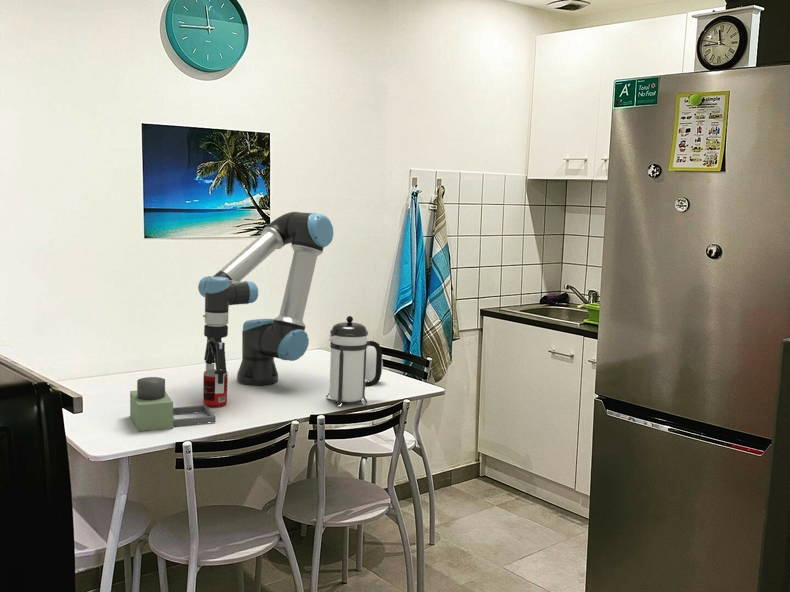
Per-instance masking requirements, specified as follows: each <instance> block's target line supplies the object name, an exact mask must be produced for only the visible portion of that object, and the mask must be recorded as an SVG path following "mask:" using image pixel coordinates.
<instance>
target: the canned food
mask: <svg viewBox="0 0 790 592" xmlns="http://www.w3.org/2000/svg"><path fill="white" fill-rule="evenodd" d="M215 371H216V368H214V369H212V370H207V371H206V370H205V371H204V372H203V388H202V389H203V391H202V392H203V393H202V394H203V399H202V400H203V401H202V402H203V405H207V407H208V408H221V407H225V406H226V405H227V403H228V371H227V372H226V373H225V374H224V393H218V394H215V374H214V373H215Z"/></svg>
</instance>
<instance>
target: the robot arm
mask: <svg viewBox="0 0 790 592" xmlns="http://www.w3.org/2000/svg"><path fill="white" fill-rule="evenodd" d="M333 238H334V227H333V224H332V222H331V219H330V218H329V217H328V216H326V215H324V214H321V213H316V212H302V211H301V212H299V211H291V212H286V213H284V214H282V215H281V216H279V217H277V218H275V219H274V220H273V221H271V222H270V223H268V224H267V225H266V226H265V227H264V228H263V229H262V233H261V234H259V236H258V237H256V238H255V239H254V240H253V241H251V243H250V244H249V245H247V246H246V247H245V248H243V250H241V251H240V253H238V254H236V256H235V257H234V258H232V259H231V260H230V261H229V262H228V263H226V265H225V266H223V267H222V268H221V269H220V270H218V271H217V272H216V273H215V274H214V275H212V276H209V275H208V276H203V277H202V278H201V279H200V280H199V283H198V286H197V287H198V288H197V290H198V292H199V294H200V295H201V296H202V297H204V314H202V317H203V318H204V328H203V335H204V337H206V345H205V352H204V358H203V360H204V362H205V371H207V370H212V369H216V371H215V373H214V374H215V394H218V393H224V374H225V373H226V372H227V373H228V371H227V361H226V350H225V349H226V348H225V347H226V346H225V345H226V343H225V342H223V341H222V338H226V337H228V334H229V326H228V324H229V307H230V306H234V305H235V306H236V305H237V306H238V305H249V304H254V303H255V302H256V301H257V300H258V298H259V288H258V286H257V284H256V283H255V282H254V281H249V280H244V281H242V280H243V279H244V278H245V277H246V276H248V275H249V274H250V273H251V272H252V271H254V270H255V269H256V268H257V267H258V266H259V265H260V264H261V263H262V262H263V261H265V260H266V259H267V258H268V257H269V256H270V255H272V254H273V252H275V251H276V250H281V249H282V248H284V246H286V245H289V244H291V245H290V246H291V248H292V250H293V254H292V255H293V256H292V259H291V260H292V261H291V264H290V267H289V271H288V277H287V281H286V285H285V289H284V294H283V298H282V301H281V306H280V311H279V315H278V316H276V317H275V318H257V319H248V320H246V321H244V322H243V324H242V333H241V335H242V337H241V338H242V339H241V340H242V343H241V344H242V345H241V346H242V348H241V352H242V353H241V354H242V359H241V363H240V365H239V368H238V371H237V373H236V381H237V382H238V383H240V384H243V385H248V386H265V385H266V386H267V384H268V385H272V383H273V384H275V382H276V383H278V381H279V373H278V369H277V367H276V363H275V358H276V359H279V360H282V361H290V362H293V361H297V360H299V359H300V358H301V357H303V356H305V354H306V351H307V350H308V347H309V343H310V342H309V339H310V338H309V335H308V333H307V332H306V331H305V330H306V324H305V323H304V321H303V320H304V315H305V311H306V308H307V304H308V298H309V295H310V290H311V285H312V281H313V277H314V273H315V269H316V263H317V260H318V257H320V255H322V254H323V252H324V248H326V247H328V246H329V245H330V244H331V243H332V241H333Z"/></svg>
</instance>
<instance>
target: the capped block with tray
mask: <svg viewBox="0 0 790 592" xmlns="http://www.w3.org/2000/svg"><path fill="white" fill-rule="evenodd" d="M136 381H137V384H136V390H130V391H129V393H130V394H129V402H130V403H129V405H130V406H129V411H130V412H129V413H130V414H129V415H130V419H131V418H132V419H131V421H132V423H133V425H134V426H135V429H136V432H138V431H141V432H146V431H145V430H151V431H156V430H155V429H162V430H165V429H164V428H172V429H174V427H173V426H176V427H183V426H182V425H187V426H191V425H190V424H197V425H201V424H200V423H208V422H217V421H216V415H215V414H214V413H213V412H212V410H211V409H210V407H207V405H204V404H202V405H201V404H200V405H190V406H189V405H188V406H179V407H178V406H177V407H174V402H173V400H172V399H171V397H170V396H169V394H168V393H167V391H166V379H165V378H163V377H158V376H149V377H141V378H138V379H137V380H136ZM194 412H199V413H204V415H205V414H206V415H207V416H206V415H205V416H194V417H186V418H185V417H184V418H175V417H174V415H173V414H176V415H186V414H185V413H187V414H195V413H194ZM183 413H184V414H183ZM198 423H199V424H198ZM208 424H209V423H208ZM153 429H154V430H153Z"/></svg>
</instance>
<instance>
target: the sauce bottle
mask: <svg viewBox="0 0 790 592" xmlns="http://www.w3.org/2000/svg"><path fill="white" fill-rule="evenodd" d="M372 341H374V342H375V336H372ZM383 366H384V362H383V361H382V368H381V375H382V372H383ZM375 374H376V349H375V347H374V346H367V349H366V371H365V381H366V382H367V381H372V380H373V379H374V377H375Z"/></svg>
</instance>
